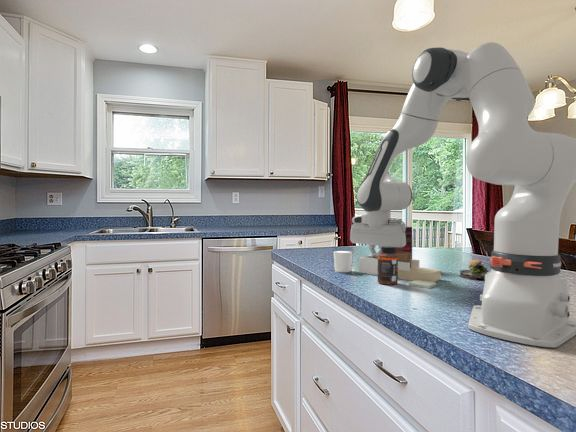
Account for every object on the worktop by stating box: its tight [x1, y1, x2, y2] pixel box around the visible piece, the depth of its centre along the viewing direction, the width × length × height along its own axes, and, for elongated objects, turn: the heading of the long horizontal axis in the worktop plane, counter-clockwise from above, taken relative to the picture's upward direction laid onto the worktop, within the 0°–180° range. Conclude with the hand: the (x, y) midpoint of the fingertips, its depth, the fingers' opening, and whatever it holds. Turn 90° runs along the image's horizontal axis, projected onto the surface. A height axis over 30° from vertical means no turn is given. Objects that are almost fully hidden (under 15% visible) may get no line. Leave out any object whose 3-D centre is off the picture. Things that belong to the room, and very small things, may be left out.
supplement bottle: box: [377, 246, 399, 286], centre depth 107 cm, size 6×6×11 cm
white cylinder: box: [332, 250, 353, 273], centre depth 127 cm, size 7×7×7 cm
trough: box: [358, 254, 442, 283], centre depth 119 cm, size 9×25×6 cm, turn 47°
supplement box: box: [395, 226, 413, 259], centre depth 133 cm, size 9×5×16 cm, turn 99°
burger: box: [459, 255, 490, 281], centre depth 117 cm, size 12×12×8 cm
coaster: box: [407, 280, 437, 289], centre depth 105 cm, size 6×6×1 cm
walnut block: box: [395, 251, 413, 268], centre depth 118 cm, size 5×5×5 cm
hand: (376, 258), depth 124 cm, fingers closed
